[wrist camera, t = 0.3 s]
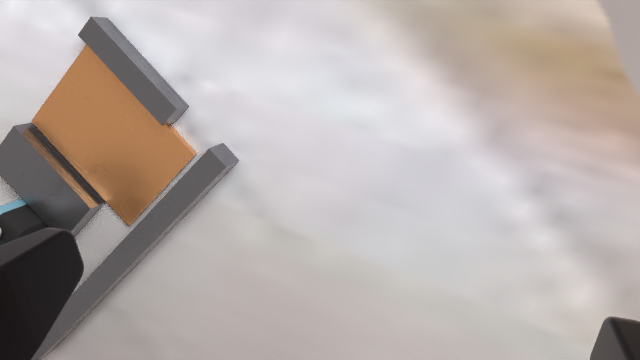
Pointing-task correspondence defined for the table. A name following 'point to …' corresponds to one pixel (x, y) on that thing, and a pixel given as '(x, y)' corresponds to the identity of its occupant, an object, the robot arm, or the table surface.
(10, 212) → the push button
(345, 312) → the table surface
